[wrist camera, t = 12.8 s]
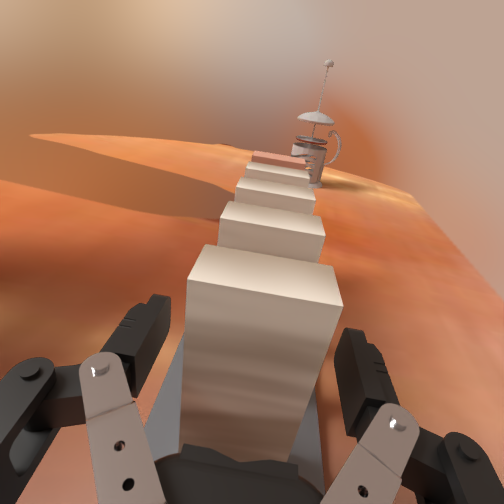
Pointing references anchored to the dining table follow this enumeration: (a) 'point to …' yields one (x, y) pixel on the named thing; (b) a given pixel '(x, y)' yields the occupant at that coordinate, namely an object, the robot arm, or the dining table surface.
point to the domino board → (168, 424)
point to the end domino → (278, 160)
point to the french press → (314, 149)
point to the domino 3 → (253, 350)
